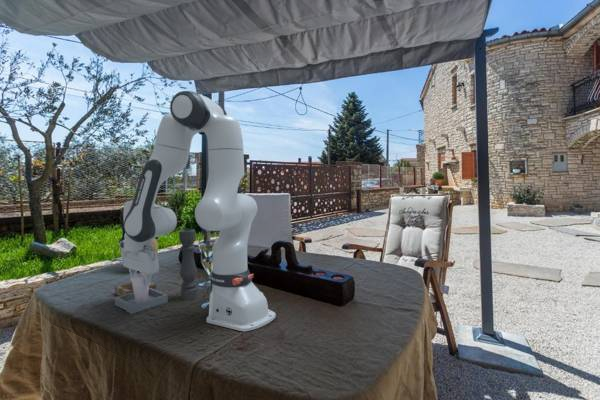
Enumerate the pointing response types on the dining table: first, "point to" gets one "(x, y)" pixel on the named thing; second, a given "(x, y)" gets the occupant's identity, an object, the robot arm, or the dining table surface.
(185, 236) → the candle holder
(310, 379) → the dining table surface
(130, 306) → the tray
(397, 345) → the dining table surface
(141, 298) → the smoothie
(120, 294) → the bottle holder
